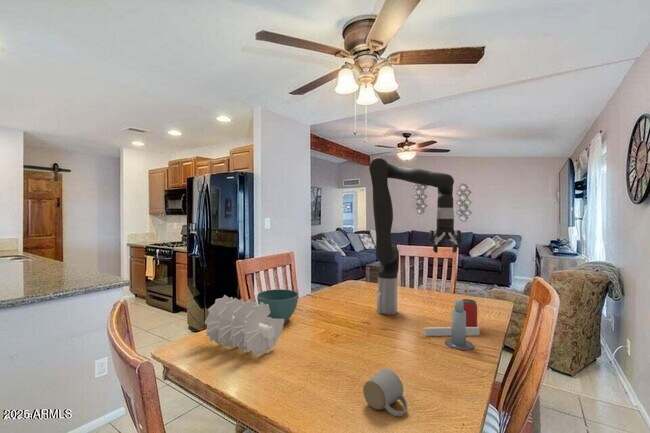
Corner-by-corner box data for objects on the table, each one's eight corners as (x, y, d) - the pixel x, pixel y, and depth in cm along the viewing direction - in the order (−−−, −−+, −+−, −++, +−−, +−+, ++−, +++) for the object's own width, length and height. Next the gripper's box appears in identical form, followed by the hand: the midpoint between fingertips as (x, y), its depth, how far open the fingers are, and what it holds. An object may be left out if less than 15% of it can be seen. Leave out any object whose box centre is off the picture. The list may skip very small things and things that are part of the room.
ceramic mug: (360, 404, 83) (361, 374, 83) (379, 391, 89) (380, 364, 89) (396, 424, 76) (396, 392, 75) (414, 409, 81) (415, 379, 81)
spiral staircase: (261, 372, 107) (209, 352, 120) (290, 334, 121) (241, 319, 133) (246, 331, 100) (192, 314, 112) (279, 295, 113) (227, 283, 126)
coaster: (451, 350, 115) (451, 349, 115) (440, 339, 125) (440, 338, 125) (479, 350, 115) (479, 349, 115) (466, 339, 125) (466, 337, 125)
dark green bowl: (304, 317, 151) (304, 291, 150) (287, 331, 134) (287, 301, 133) (269, 313, 157) (269, 288, 156) (249, 325, 140) (249, 297, 139)
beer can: (479, 332, 132) (479, 303, 131) (461, 331, 133) (462, 302, 133) (474, 327, 138) (475, 299, 138) (458, 326, 139) (458, 298, 139)
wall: (424, 335, 128) (424, 328, 128) (423, 334, 129) (423, 327, 129) (479, 335, 129) (479, 327, 129) (478, 334, 130) (478, 326, 130)
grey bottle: (455, 346, 118) (455, 302, 117) (449, 340, 122) (449, 298, 122) (468, 346, 118) (468, 302, 117) (462, 340, 123) (462, 298, 122)
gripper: (456, 217, 154) (456, 251, 155) (427, 217, 154) (427, 251, 154) (464, 217, 147) (463, 253, 147) (432, 217, 146) (432, 253, 147)
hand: (444, 252), depth 151 cm, fingers open, 8 cm apart
